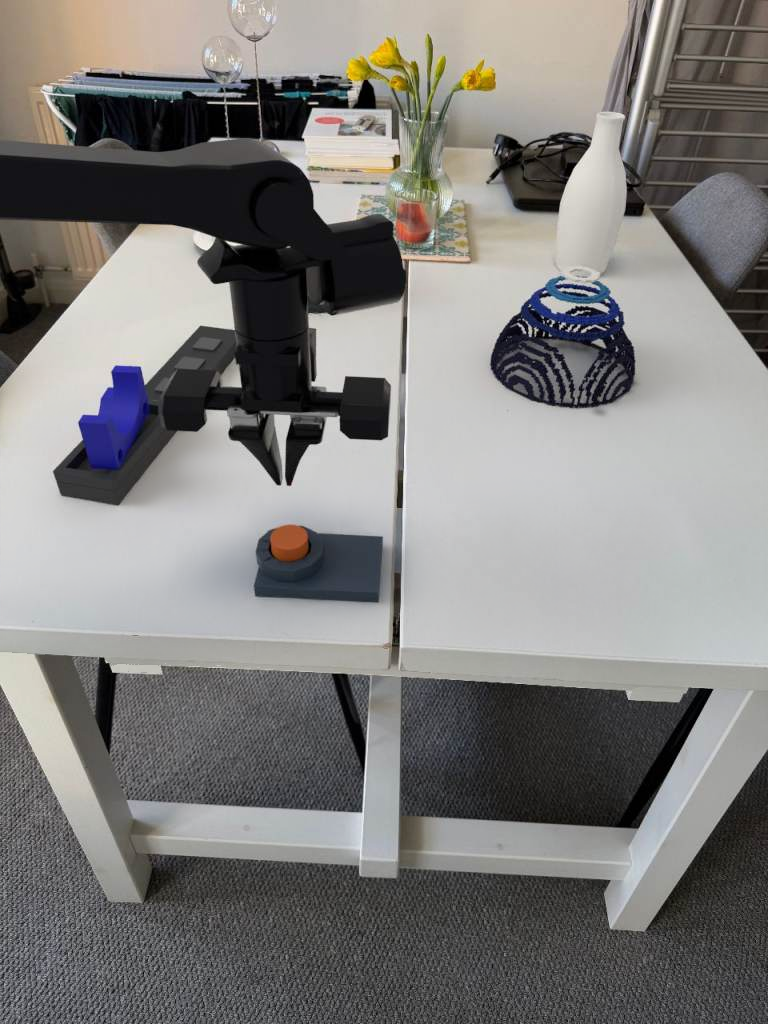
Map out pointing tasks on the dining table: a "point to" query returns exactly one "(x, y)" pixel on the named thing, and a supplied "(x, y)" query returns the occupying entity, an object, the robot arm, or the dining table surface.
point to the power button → (289, 543)
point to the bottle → (593, 201)
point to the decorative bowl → (586, 338)
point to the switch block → (323, 569)
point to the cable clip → (116, 419)
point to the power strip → (144, 424)
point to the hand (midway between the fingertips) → (284, 482)
